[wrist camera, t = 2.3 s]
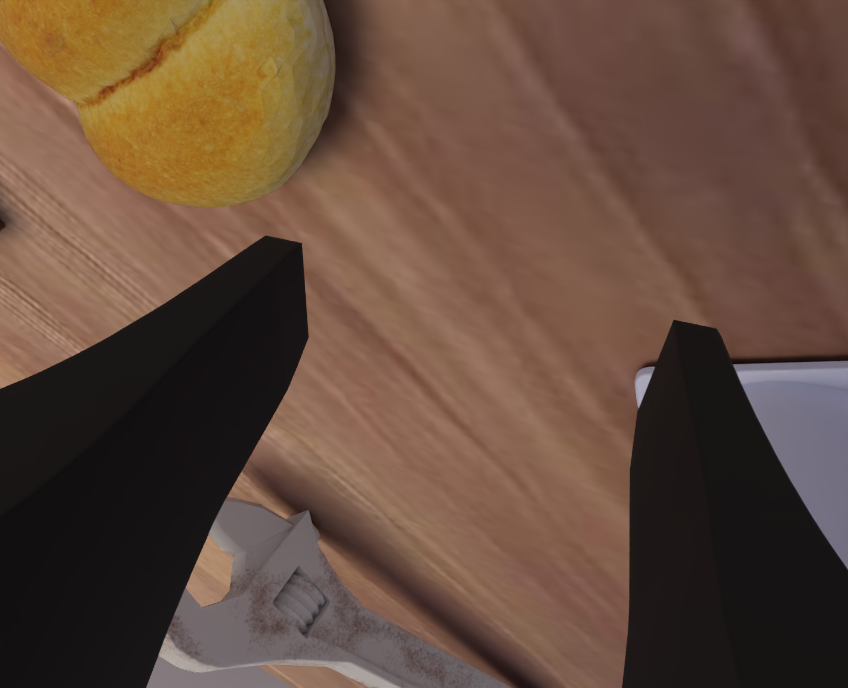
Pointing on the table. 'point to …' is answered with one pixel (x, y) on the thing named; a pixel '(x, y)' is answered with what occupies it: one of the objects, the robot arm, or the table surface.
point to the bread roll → (185, 87)
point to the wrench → (299, 613)
